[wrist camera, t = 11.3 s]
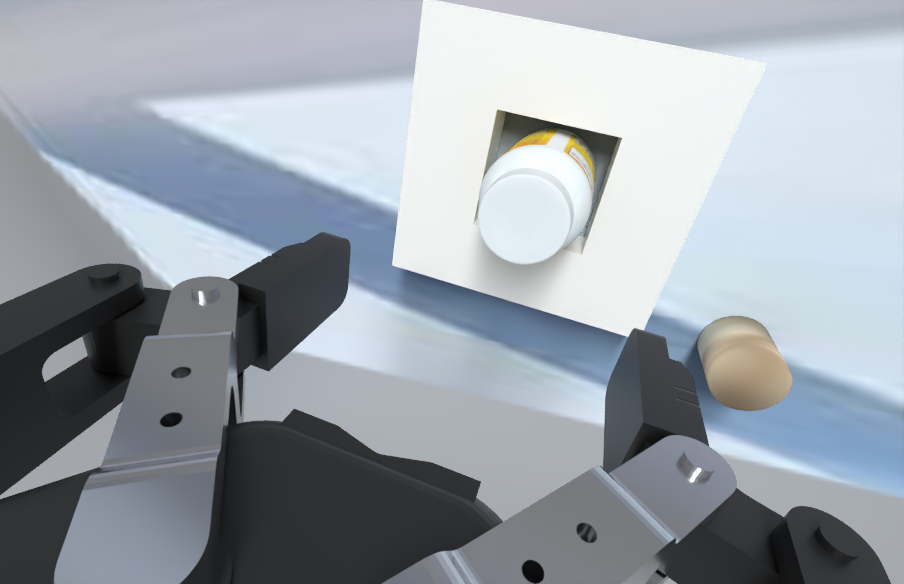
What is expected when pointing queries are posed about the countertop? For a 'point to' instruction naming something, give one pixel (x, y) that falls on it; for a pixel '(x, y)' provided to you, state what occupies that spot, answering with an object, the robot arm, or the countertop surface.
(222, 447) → the robot arm
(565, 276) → the collar block
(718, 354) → the short birch peg
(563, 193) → the supplement bottle
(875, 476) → the countertop surface
